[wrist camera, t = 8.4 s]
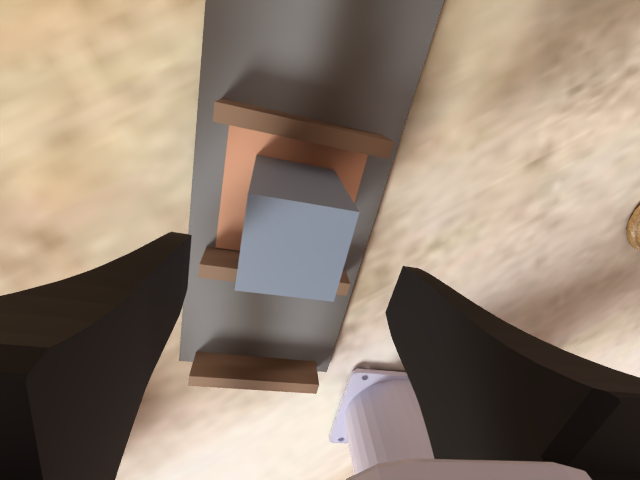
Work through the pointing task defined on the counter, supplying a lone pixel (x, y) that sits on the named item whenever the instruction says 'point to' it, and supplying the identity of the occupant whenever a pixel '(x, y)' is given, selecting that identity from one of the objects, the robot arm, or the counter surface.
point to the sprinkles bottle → (634, 229)
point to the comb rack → (297, 146)
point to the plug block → (295, 231)
